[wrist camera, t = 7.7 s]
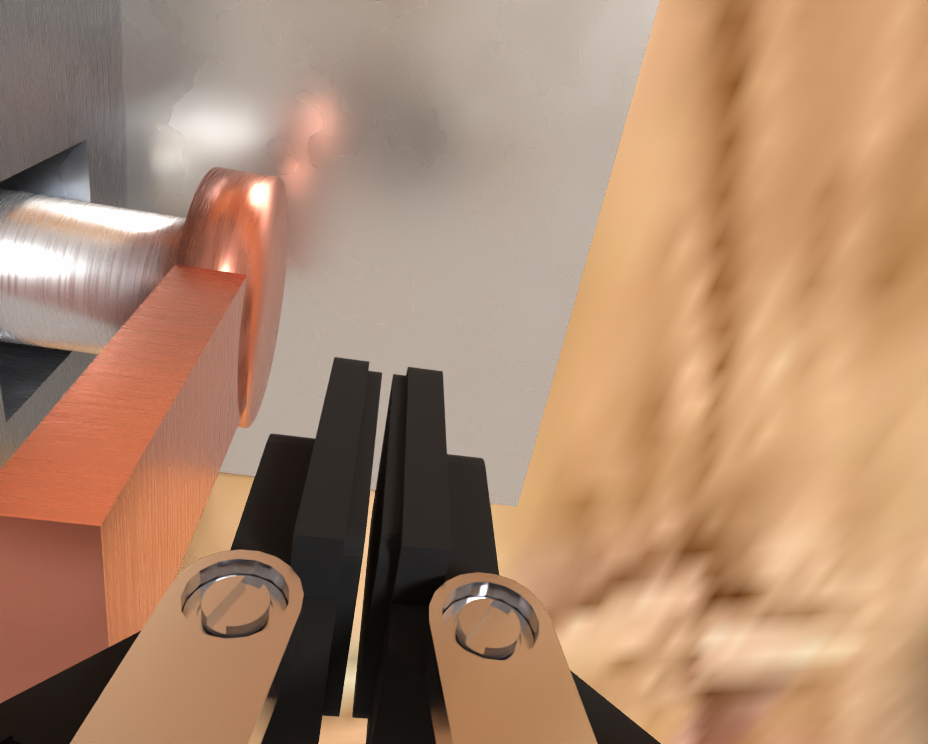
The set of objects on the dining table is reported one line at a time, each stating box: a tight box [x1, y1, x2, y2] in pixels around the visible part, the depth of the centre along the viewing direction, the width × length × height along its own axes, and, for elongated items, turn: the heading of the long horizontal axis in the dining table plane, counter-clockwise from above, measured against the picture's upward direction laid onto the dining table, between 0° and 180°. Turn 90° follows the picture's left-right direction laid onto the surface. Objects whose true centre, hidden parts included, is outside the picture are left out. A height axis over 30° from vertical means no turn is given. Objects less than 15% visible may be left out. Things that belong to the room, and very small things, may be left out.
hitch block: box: [0, 0, 659, 507], centre depth 15 cm, size 26×18×9 cm
